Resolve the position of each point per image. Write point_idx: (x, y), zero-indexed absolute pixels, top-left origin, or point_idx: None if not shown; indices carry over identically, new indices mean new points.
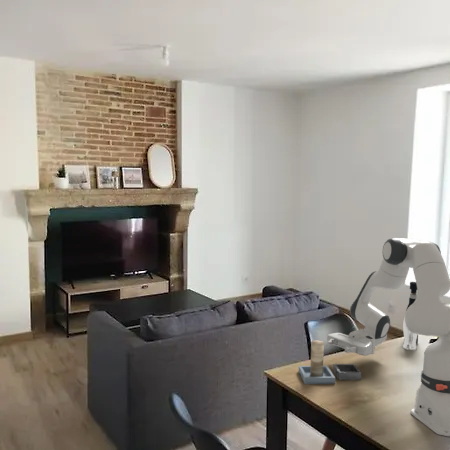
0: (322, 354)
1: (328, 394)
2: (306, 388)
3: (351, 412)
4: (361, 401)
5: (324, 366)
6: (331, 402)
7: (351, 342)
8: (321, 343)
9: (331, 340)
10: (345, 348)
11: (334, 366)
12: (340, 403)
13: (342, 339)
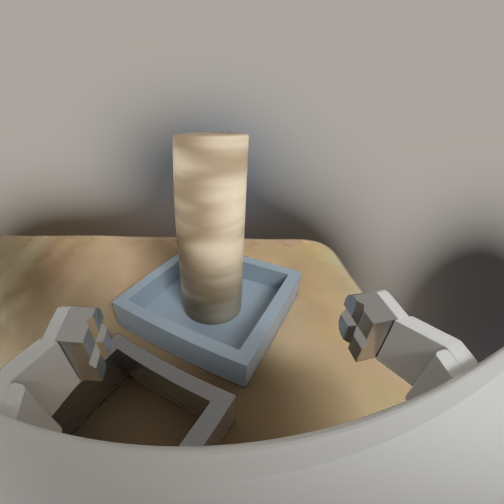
0: (174, 197)
1: (98, 267)
2: (169, 253)
3: (28, 253)
4: (11, 294)
5: (244, 346)
6: (75, 252)
7: (73, 472)
8: (186, 135)
9: (412, 329)
10: (91, 308)
11: (199, 379)
12: (55, 260)
13: (370, 445)
